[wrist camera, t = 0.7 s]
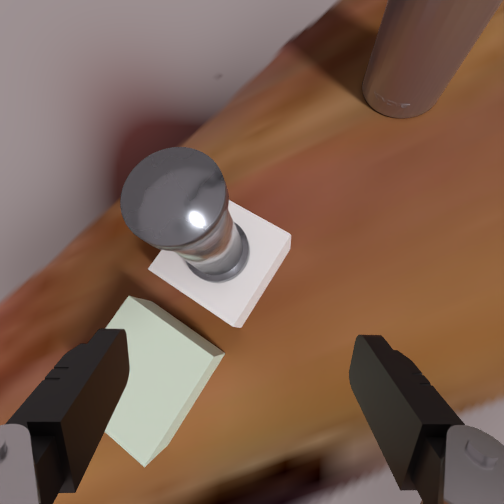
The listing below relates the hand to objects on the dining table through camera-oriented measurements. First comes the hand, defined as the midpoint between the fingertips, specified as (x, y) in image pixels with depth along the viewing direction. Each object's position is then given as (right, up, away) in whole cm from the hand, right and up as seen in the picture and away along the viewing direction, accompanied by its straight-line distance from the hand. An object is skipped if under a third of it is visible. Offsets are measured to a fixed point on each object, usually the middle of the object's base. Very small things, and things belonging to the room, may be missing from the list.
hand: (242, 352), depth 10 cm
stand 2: (-9, -9, +20) cm, 24 cm away
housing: (-3, +4, +18) cm, 18 cm away
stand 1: (-2, +2, +22) cm, 22 cm away
